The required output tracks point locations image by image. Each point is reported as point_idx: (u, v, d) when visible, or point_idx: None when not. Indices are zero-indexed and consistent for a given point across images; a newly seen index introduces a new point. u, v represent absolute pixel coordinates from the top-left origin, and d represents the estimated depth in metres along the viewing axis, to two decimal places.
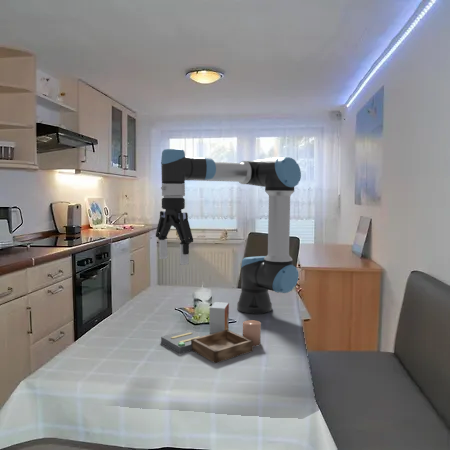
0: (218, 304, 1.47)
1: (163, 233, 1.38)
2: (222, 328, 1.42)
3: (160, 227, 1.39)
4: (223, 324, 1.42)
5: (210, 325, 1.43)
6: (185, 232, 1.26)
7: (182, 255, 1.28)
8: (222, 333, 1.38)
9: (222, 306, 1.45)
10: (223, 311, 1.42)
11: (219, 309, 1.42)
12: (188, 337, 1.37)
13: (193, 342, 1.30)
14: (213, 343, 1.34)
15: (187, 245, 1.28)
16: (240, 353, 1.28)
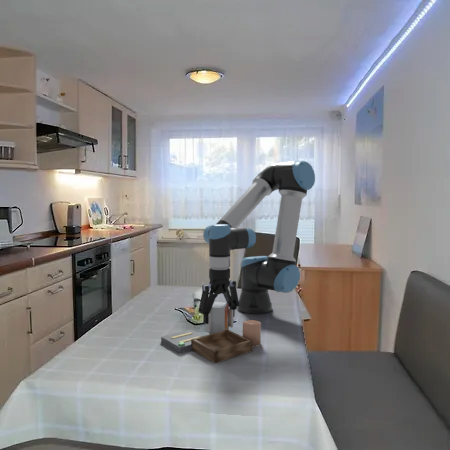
0: (218, 304, 1.47)
1: (227, 301, 1.49)
2: (222, 328, 1.42)
3: (231, 295, 1.50)
4: (223, 324, 1.42)
5: None
6: (200, 303, 1.42)
7: None
8: (222, 333, 1.38)
9: (222, 305, 1.45)
10: (223, 311, 1.42)
11: (219, 309, 1.42)
12: (188, 337, 1.37)
13: (193, 342, 1.30)
14: (213, 343, 1.34)
15: (204, 315, 1.42)
16: (240, 353, 1.28)
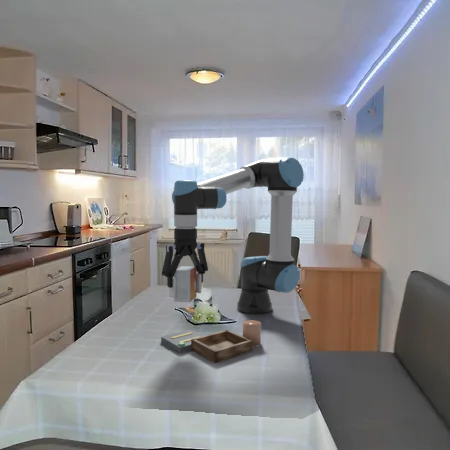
0: (184, 267, 1.36)
1: (195, 265, 1.38)
2: (187, 292, 1.31)
3: (199, 259, 1.39)
4: (189, 288, 1.31)
5: None
6: (163, 265, 1.31)
7: (170, 287, 1.33)
8: (222, 333, 1.38)
9: (188, 268, 1.33)
10: (188, 274, 1.31)
11: (184, 271, 1.31)
12: (188, 337, 1.37)
13: (193, 342, 1.30)
14: (213, 343, 1.34)
15: (168, 278, 1.31)
16: (240, 353, 1.28)
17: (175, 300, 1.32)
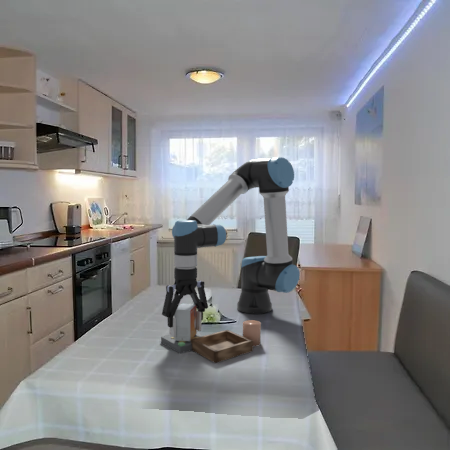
0: (184, 306, 1.37)
1: (195, 303, 1.39)
2: (188, 331, 1.32)
3: (199, 297, 1.40)
4: (189, 327, 1.32)
5: None
6: (164, 305, 1.32)
7: (170, 326, 1.34)
8: (222, 333, 1.38)
9: (188, 307, 1.35)
10: (189, 313, 1.32)
11: (184, 311, 1.32)
12: None
13: (193, 342, 1.30)
14: (213, 343, 1.34)
15: (168, 318, 1.32)
16: (240, 353, 1.28)
17: (175, 339, 1.33)
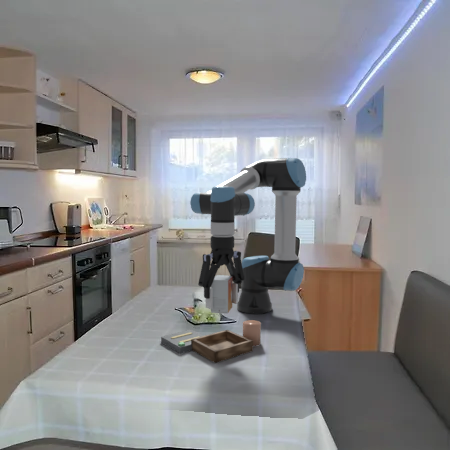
0: (221, 277, 1.30)
1: (231, 274, 1.32)
2: (225, 303, 1.26)
3: (235, 268, 1.34)
4: (226, 298, 1.25)
5: None
6: (200, 275, 1.25)
7: (206, 298, 1.27)
8: (222, 333, 1.38)
9: (225, 278, 1.28)
10: (226, 283, 1.25)
11: (222, 281, 1.25)
12: (188, 337, 1.37)
13: (193, 342, 1.30)
14: (213, 343, 1.34)
15: (205, 289, 1.25)
16: (240, 353, 1.28)
17: (212, 311, 1.27)
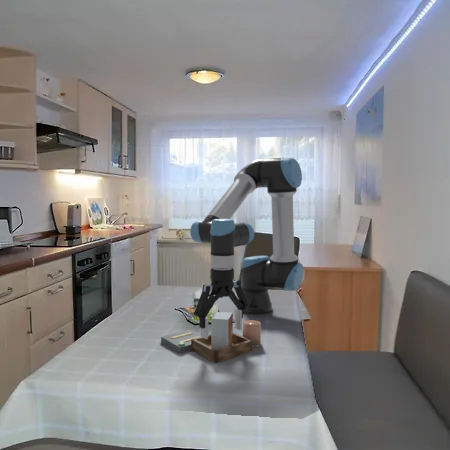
0: (221, 314, 1.31)
1: (234, 302, 1.34)
2: (225, 342, 1.27)
3: (238, 296, 1.35)
4: (227, 337, 1.27)
5: (212, 338, 1.28)
6: (197, 305, 1.25)
7: (201, 327, 1.27)
8: None
9: (225, 316, 1.29)
10: (227, 323, 1.26)
11: (222, 320, 1.27)
12: (188, 337, 1.37)
13: (193, 342, 1.30)
14: None
15: (200, 319, 1.25)
16: (240, 353, 1.28)
17: None
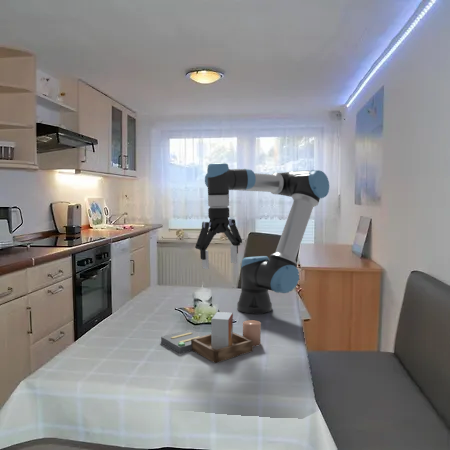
0: (221, 314, 1.31)
1: (229, 239, 1.51)
2: (225, 342, 1.27)
3: (233, 233, 1.52)
4: (227, 337, 1.27)
5: (212, 338, 1.28)
6: (198, 239, 1.41)
7: (202, 259, 1.43)
8: None
9: (225, 316, 1.29)
10: (227, 323, 1.26)
11: (222, 320, 1.27)
12: (188, 337, 1.37)
13: (193, 342, 1.30)
14: None
15: (201, 251, 1.41)
16: (240, 353, 1.28)
17: None
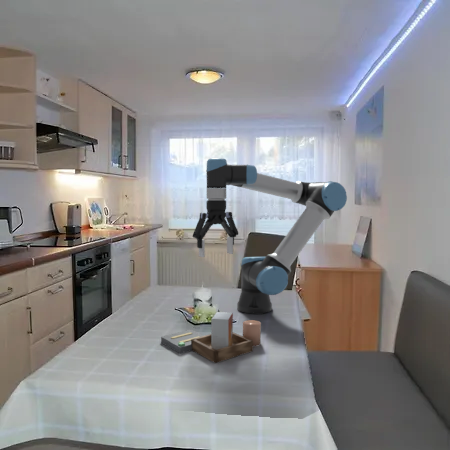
0: (221, 314, 1.31)
1: (226, 231, 1.59)
2: (225, 342, 1.27)
3: (230, 226, 1.61)
4: (227, 337, 1.27)
5: (212, 338, 1.28)
6: (195, 229, 1.51)
7: (199, 248, 1.52)
8: None
9: (225, 316, 1.29)
10: (227, 323, 1.26)
11: (222, 320, 1.27)
12: (188, 337, 1.37)
13: (193, 342, 1.30)
14: None
15: (198, 240, 1.50)
16: (240, 353, 1.28)
17: None
